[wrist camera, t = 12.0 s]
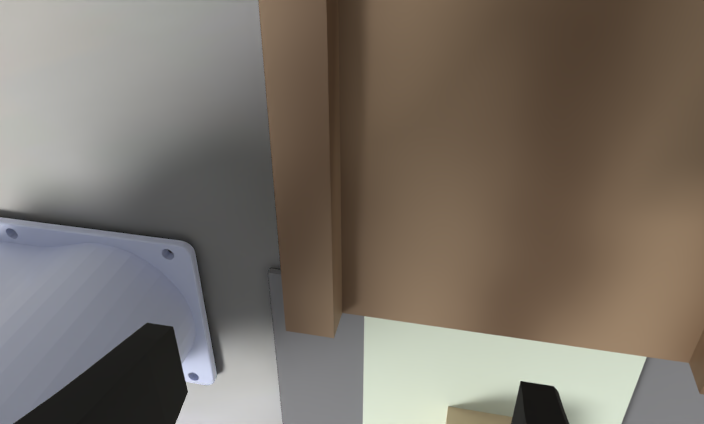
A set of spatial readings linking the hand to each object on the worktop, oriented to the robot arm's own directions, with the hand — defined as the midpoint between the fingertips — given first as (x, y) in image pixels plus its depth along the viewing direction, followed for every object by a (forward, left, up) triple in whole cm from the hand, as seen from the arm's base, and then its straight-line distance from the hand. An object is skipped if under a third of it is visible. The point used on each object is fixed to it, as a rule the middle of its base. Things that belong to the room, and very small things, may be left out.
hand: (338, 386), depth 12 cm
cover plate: (+4, -12, -9) cm, 16 cm away
